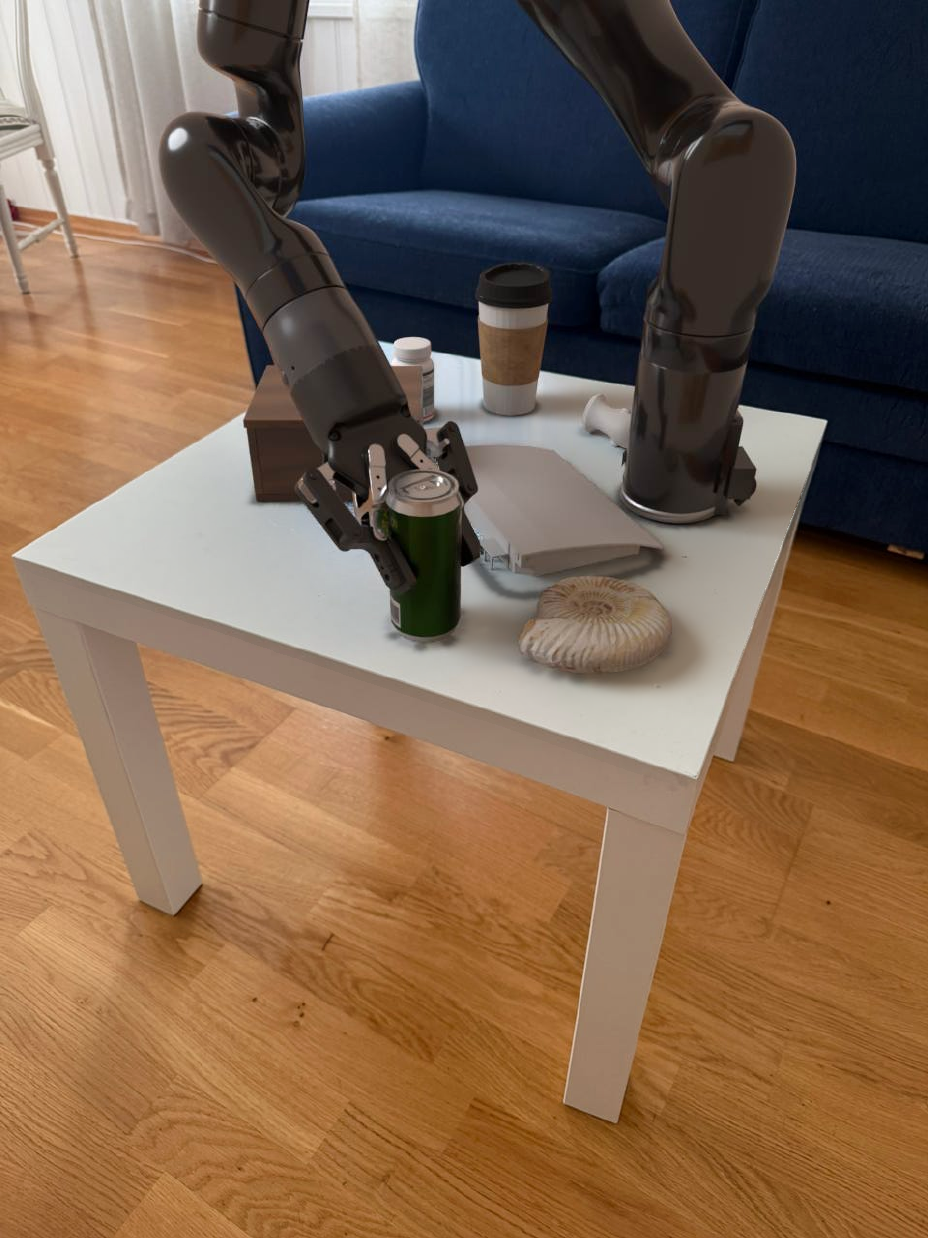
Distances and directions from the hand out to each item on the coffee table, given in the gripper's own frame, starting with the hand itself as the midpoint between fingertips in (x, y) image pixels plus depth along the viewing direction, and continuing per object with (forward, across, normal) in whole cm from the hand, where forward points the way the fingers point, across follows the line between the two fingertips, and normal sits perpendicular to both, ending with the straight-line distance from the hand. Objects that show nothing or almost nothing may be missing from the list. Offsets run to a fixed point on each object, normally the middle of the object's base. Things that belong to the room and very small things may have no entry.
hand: (440, 575), depth 66 cm
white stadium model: (-2, +18, +10) cm, 21 cm away
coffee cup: (-16, +34, +24) cm, 45 cm away
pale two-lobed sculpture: (-7, +37, +14) cm, 40 cm away
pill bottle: (-20, +24, +28) cm, 42 cm away
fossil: (+10, +9, -2) cm, 13 cm away
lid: (-21, +10, +17) cm, 29 cm away
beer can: (+3, 0, +5) cm, 6 cm away
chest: (-15, +10, +23) cm, 29 cm away
